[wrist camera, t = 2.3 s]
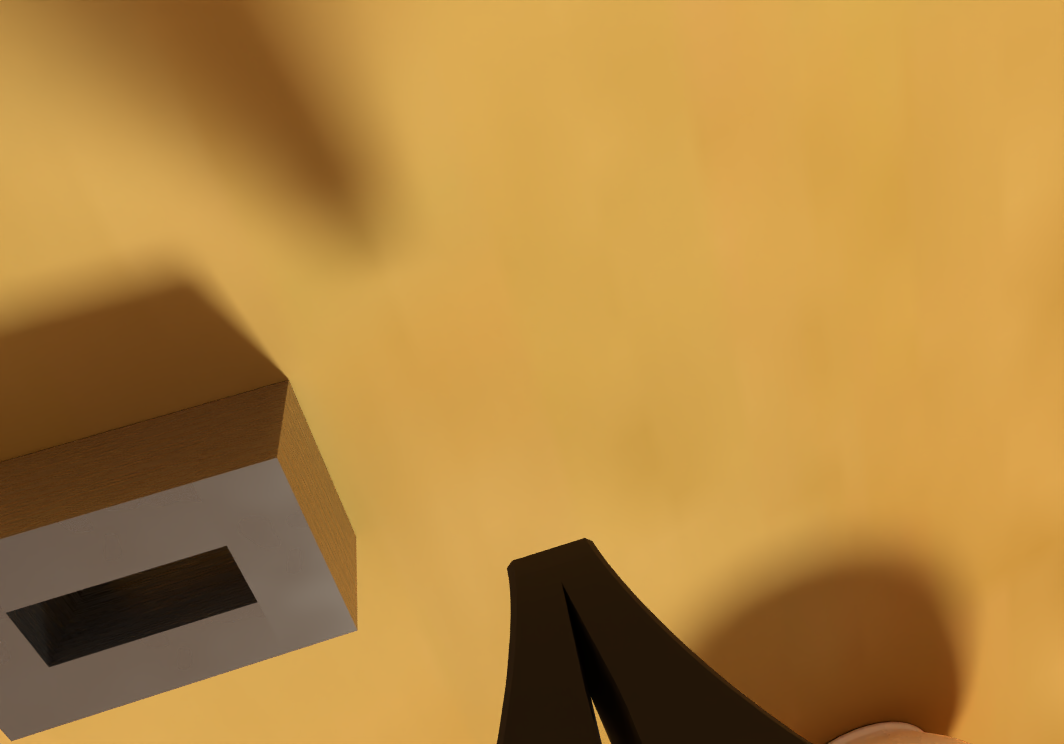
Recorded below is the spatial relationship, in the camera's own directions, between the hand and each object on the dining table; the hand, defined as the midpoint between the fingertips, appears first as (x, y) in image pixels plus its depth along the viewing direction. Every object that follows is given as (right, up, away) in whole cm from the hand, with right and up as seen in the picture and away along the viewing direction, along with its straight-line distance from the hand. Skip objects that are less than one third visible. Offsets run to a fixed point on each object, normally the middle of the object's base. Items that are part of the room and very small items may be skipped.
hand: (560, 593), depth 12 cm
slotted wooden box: (-8, 0, +4) cm, 10 cm away
